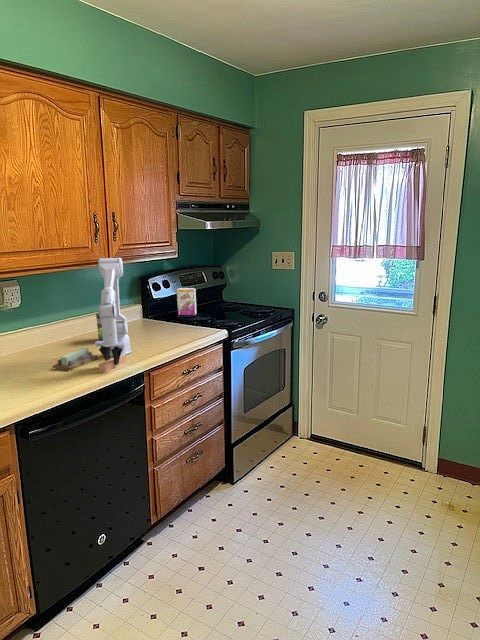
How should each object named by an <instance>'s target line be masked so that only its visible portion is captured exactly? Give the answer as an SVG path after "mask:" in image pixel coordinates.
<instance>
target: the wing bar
mask: <svg viewBox="0 0 480 640" xmlns="http://www.w3.org/2000/svg"><path fill="white" fill-rule="evenodd" d="M110 358H111V359H109V360H107V361H105V360H104V361H103V362H101V363H99V364H98V369H99V371H98V372H99V373H104V374H105V373H107V372H110V371H112V370H114V369H115V368H117V367H119V366H121V365H123V364H125V363H126V355H120V359H119V364H117V365H115V364H114V358H113V357H110Z"/></svg>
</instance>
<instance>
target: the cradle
mask: <svg viewBox="0 0 480 640" xmlns="http://www.w3.org/2000/svg"><path fill="white" fill-rule="evenodd" d="M98 358H99V357H98V355H97V354H93V352H92V351H89V352H88V353H86V354H84V355H82V356H79V357H77V358H75V359H72V360H70V361H68V364H69V365H62V363H61V358H60V359H57V363H56V364H54V365H52V369H53V368H55V369H54V370H56V369H61V370H60V371H64V370H72V369H74V368H76V369H78V368H80V367H82V366H84V364H85V365H86V363H87V364H88V363H91V362H93V361H95V360H98ZM81 365H82V366H81ZM79 366H80V367H79ZM77 367H78V368H77ZM74 370H75V369H74ZM72 371H73V370H72Z"/></svg>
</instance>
